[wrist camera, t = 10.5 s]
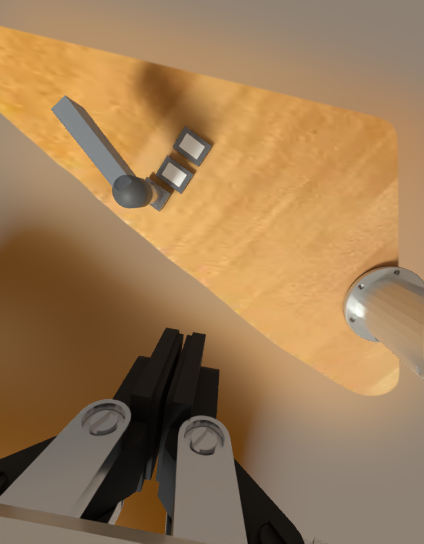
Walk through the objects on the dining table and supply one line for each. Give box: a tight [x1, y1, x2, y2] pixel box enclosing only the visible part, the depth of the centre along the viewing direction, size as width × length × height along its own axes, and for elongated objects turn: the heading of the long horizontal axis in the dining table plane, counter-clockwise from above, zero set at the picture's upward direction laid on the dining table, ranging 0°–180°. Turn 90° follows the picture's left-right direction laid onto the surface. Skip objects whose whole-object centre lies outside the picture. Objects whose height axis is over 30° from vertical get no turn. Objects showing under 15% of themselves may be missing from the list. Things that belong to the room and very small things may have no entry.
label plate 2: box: [156, 155, 193, 194], centre depth 38 cm, size 4×3×1 cm
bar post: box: [145, 177, 171, 211], centre depth 35 cm, size 4×3×7 cm
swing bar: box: [51, 96, 153, 208], centre depth 29 cm, size 3×12×4 cm, turn 37°
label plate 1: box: [173, 126, 212, 167], centre depth 36 cm, size 4×3×1 cm
